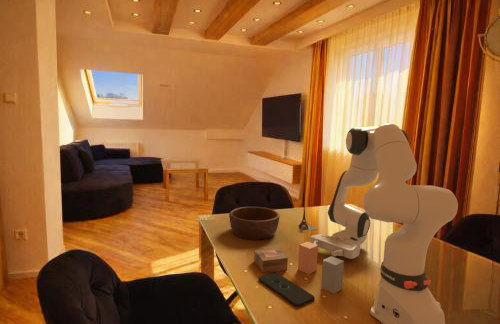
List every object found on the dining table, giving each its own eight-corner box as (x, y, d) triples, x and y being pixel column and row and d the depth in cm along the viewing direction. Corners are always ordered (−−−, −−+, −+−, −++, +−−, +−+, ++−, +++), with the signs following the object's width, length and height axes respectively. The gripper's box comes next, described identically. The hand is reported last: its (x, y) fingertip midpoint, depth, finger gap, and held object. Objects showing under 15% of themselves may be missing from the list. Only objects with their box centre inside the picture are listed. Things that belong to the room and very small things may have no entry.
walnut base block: (287, 270, 122) (287, 257, 121) (262, 273, 119) (263, 260, 118) (276, 259, 131) (277, 247, 131) (253, 262, 128) (254, 249, 127)
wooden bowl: (218, 231, 161) (219, 211, 160) (255, 221, 178) (255, 203, 176) (251, 247, 143) (252, 224, 141) (289, 234, 159) (290, 214, 158)
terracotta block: (316, 270, 122) (318, 245, 121) (308, 274, 119) (310, 248, 117) (306, 265, 126) (307, 241, 124) (298, 269, 122) (299, 244, 121)
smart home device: (275, 271, 118) (315, 296, 102) (275, 275, 118) (315, 301, 102) (257, 277, 113) (297, 304, 97) (257, 281, 113) (296, 309, 97)
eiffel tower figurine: (301, 234, 161) (302, 208, 160) (287, 228, 169) (288, 204, 167) (320, 228, 171) (322, 204, 169) (306, 223, 179) (307, 200, 177)
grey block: (342, 288, 109) (344, 261, 108) (333, 293, 106) (335, 265, 104) (329, 283, 113) (331, 256, 111) (321, 287, 109) (322, 260, 108)
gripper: (321, 228, 144) (302, 235, 135) (363, 241, 129) (345, 250, 120) (320, 241, 145) (301, 249, 135) (362, 256, 130) (344, 266, 121)
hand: (322, 250), depth 127 cm, fingers open, 8 cm apart
